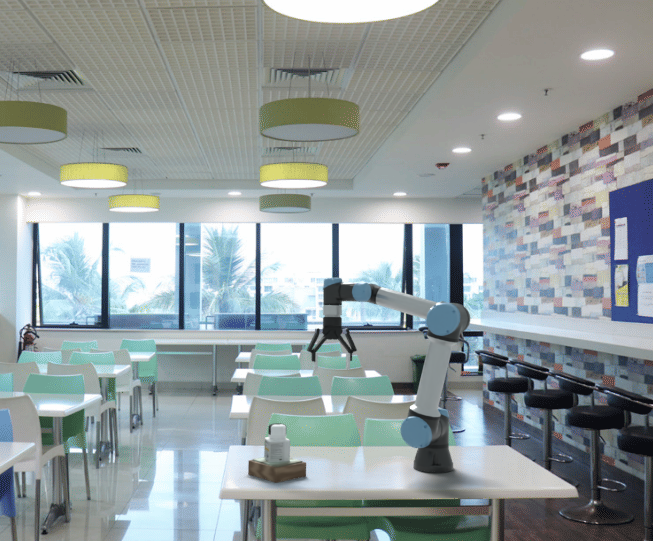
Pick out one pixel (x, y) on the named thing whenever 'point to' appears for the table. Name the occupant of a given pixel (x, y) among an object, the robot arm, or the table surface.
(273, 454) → the container
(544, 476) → the table surface
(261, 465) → the block
